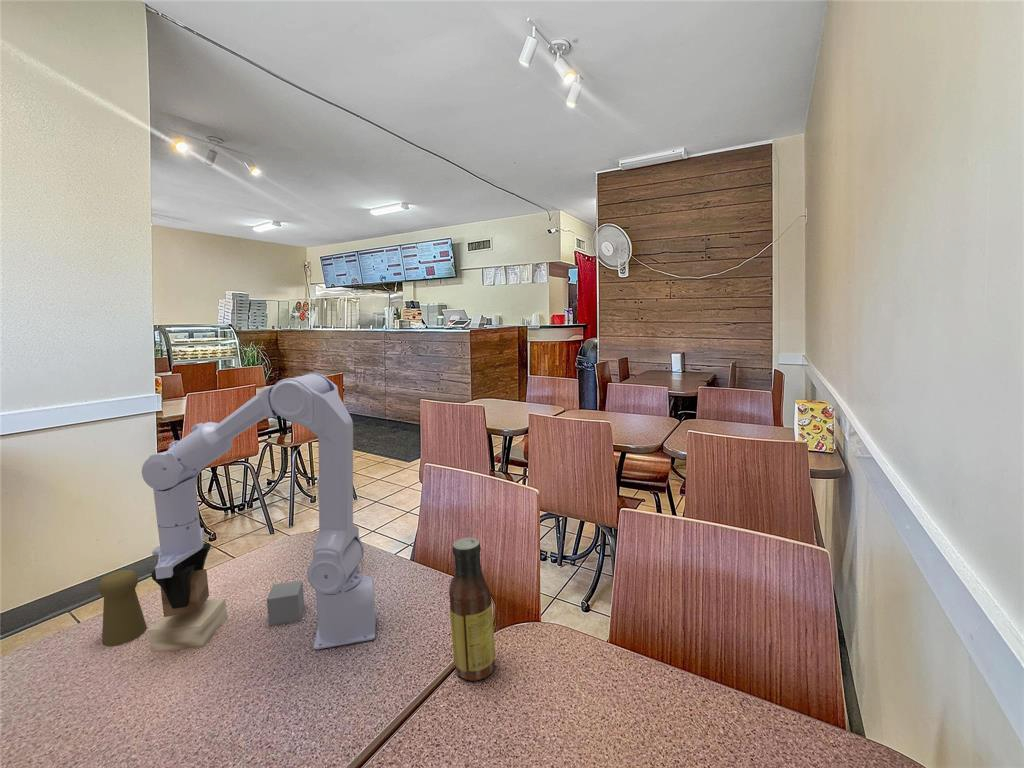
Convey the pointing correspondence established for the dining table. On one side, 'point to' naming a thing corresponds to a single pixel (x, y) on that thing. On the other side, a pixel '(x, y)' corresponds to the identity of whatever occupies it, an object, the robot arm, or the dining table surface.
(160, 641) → the sticky note pad
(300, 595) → the slate cube
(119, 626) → the olive round-headed peg
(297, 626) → the dining table surface
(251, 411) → the robot arm
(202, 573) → the walnut cube
